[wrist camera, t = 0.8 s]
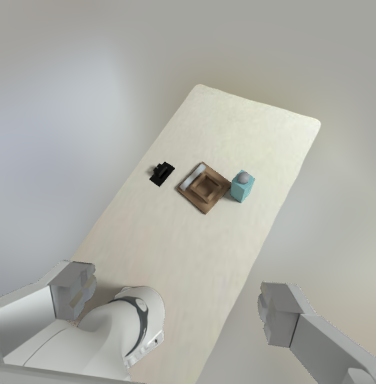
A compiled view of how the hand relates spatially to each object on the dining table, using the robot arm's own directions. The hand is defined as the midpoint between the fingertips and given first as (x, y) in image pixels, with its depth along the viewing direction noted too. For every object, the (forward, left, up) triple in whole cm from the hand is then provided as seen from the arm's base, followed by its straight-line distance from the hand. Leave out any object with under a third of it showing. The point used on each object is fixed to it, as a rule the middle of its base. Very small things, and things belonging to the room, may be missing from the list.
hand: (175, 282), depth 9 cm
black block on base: (+11, +37, -53) cm, 66 cm away
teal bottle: (+23, +9, -52) cm, 58 cm away
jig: (+17, +20, -52) cm, 59 cm away
